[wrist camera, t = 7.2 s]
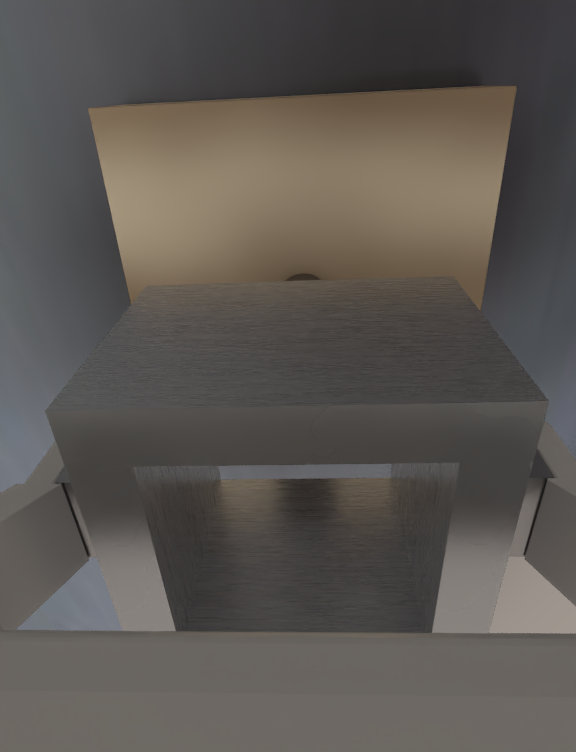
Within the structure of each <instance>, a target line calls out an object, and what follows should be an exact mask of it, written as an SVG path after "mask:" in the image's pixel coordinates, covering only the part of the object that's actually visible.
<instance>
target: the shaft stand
mask: <svg viewBox="0 0 576 752" xmlns="http://www.w3.org/2000/svg"><path fill="white" fill-rule="evenodd" d="M516 88H517V86H471V87H452V88H433V89H414V90H395V91H376V92H357V93H338V94H319V95H300V96H281V97H262V98H243V99H224V100H205V101H186V102H166V103H147V104H128V105H116V106H106V107H96V108H88V110H89V114H90V119H91V123H92V128H93V133H94V137H95V142H96V146H97V151H98V155H99V160H100V165H101V169H102V174H103V178H104V183H105V187H106V192H107V196H108V201H109V206H110V210H111V215H112V219H113V224H114V228H115V233H116V238H117V242H118V247H119V251H120V256H121V260H122V265H123V269H124V274H125V279H126V283H127V288H128V292H129V297H130V301H131V304H132V303H133V302H134V300H135V299H136V298H137V297H138V296H139V294H140V293H141V292H142V291H143V289H144V288H145V287H146V286H151V285H182V284H213V283H244V282H275V281H306V280H337V279H368V278H399V277H430V276H454V277H455V279H456V280H457V281H458V282H459V284H460V285H461V286H462V288H463V289H464V290H465V292H466V293H467V294H468V296H469V297H470V298H471V300H472V301H473V302H474V303H475V305H476V306H477V307H478V309H479V310H480V311H481V306H482V300H483V294H484V288H485V281H486V275H487V269H488V263H489V257H490V250H491V244H492V238H493V232H494V225H495V219H496V213H497V207H498V200H499V194H500V188H501V182H502V176H503V169H504V163H505V157H506V151H507V144H508V138H509V132H510V126H511V120H512V113H513V107H514V101H515V95H516Z"/></svg>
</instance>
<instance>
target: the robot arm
mask: <svg viewBox="0 0 576 752" xmlns="http://www.w3.org/2000/svg"><path fill="white" fill-rule="evenodd" d="M509 556H516V557H525V560H526V561H527V562H528V563H529V564H531V565H532V566H533V567H534V568H535V569H536V570H537V571H538V572H539V573H540V574H541V575H543V576H544V577H545V578H546V579H547V580H548V581H549V582H550V583H551V584H552V585H553V586H554V587H555V588H557V589H558V590H559V591H560V592H561V593H562V594H563V595H564V596H565V597H566V598H567V599H568V600H570V601H571V602H572V603H573V604H574V605H575V606H576V459H575V458H574V457H573V455H572V454H571V453H570V451H569V450H568V448H567V447H566V446H565V444H564V443H563V442H562V440H561V439H560V437H559V436H558V435H557V433H556V432H555V431H554V429H553V428H552V426H551V425H550V424H549V423H547V422H545V421H544V423H543V427H542V431H541V435H540V438H539V442H538V446H537V450H536V454H535V458H534V461H533V465H532V469H531V473H530V477H529V480H528V484H527V488H526V492H525V496H524V500H523V503H522V507H521V511H520V515H519V519H518V523H517V526H516V530H515V534H514V538H513V542H512V546H511V549H510V553H509ZM93 557H97V556H96V553H95V551H94V548H93V545H92V542H91V539H90V536H89V534H88V531H87V528H86V525H85V522H84V520H83V517H82V514H81V511H80V508H79V505H78V503H77V500H76V497H75V494H74V491H73V488H72V486H71V483H70V480H69V477H68V474H67V471H66V469H65V466H64V463H63V460H62V457H61V454H60V452H59V449H58V446H57V443H56V441H55V442H54V443H53V445H52V446H51V448H50V449H49V450H48V452H47V453H46V455H45V456H44V457H43V459H42V460H41V461H40V463H39V464H38V466H37V467H36V468H35V470H34V471H33V473H32V474H31V475H30V477H29V478H28V479H27V481H26V482H25V484H16V485H14V486H12V487H10V488H9V489H7V490H5V491H3V492H2V493H0V752H576V634H542V633H394V632H230V631H64V630H16V629H17V628H18V627H19V626H20V625H21V624H22V623H23V622H24V621H25V620H26V619H27V618H28V617H30V616H31V615H32V614H33V613H34V612H35V611H36V610H37V609H38V608H39V607H40V606H41V605H42V604H43V603H44V602H45V601H46V600H47V599H49V598H50V597H51V596H52V595H53V594H54V593H55V592H56V591H57V590H58V589H59V588H60V587H61V586H62V585H63V584H64V583H65V582H66V581H67V580H69V579H70V578H71V577H72V576H73V575H74V574H75V573H76V572H77V571H78V570H79V569H80V568H81V567H82V566H83V565H84V564H85V563H86V562H88V561H89V558H93Z"/></svg>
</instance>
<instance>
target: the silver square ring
mask: <svg viewBox="0 0 576 752" xmlns="http://www.w3.org/2000/svg"><path fill="white" fill-rule="evenodd" d="M548 404H549V401H548V399H547V398H546V397H545V395H544V394H543V393H542V391H541V390H540V389H539V387H538V386H537V385H536V383H535V382H534V381H533V380H532V378H531V377H530V376H529V374H528V373H527V372H526V370H525V369H524V368H523V366H522V365H521V364H520V362H519V361H518V360H517V359H516V357H515V356H514V355H513V353H512V352H511V351H510V349H509V348H508V347H507V345H506V344H505V343H504V341H503V340H502V339H501V338H500V336H499V335H498V334H497V332H496V331H495V330H494V328H493V327H492V326H491V324H490V323H489V322H488V321H487V319H486V318H485V317H484V315H483V314H482V313H481V311H480V310H479V309H478V307H477V306H476V305H475V303H474V302H473V301H472V300H471V298H470V297H469V296H468V294H467V293H466V292H465V290H464V289H463V288H462V286H461V285H460V284H459V282H458V281H457V280H456V279H455V277H454V276H430V277H399V278H368V279H337V280H306V281H275V282H244V283H213V284H182V285H151V286H146V287H145V288H144V289H143V291H142V292H141V293H140V294H139V296H138V297H137V298H136V299H135V300H134V302H133V303H132V304H131V305H130V307H129V308H128V309H127V310H126V312H125V313H124V314H123V315H122V316H121V318H120V319H119V320H118V321H117V323H116V324H115V325H114V326H113V328H112V329H111V330H110V331H109V333H108V334H107V335H106V336H105V337H104V339H103V340H102V341H101V342H100V344H99V345H98V346H97V347H96V349H95V350H94V351H93V352H92V354H91V355H90V356H89V357H88V358H87V360H86V361H85V362H84V363H83V365H82V366H81V367H80V368H79V370H78V371H77V372H76V373H75V374H74V376H73V377H72V378H71V379H70V381H69V382H68V383H67V384H66V386H65V387H64V388H63V389H62V391H61V392H60V393H59V394H58V395H57V397H56V398H55V399H54V400H53V402H52V403H51V404H50V405H49V407H48V408H47V409H46V410H45V412H46V415H47V418H48V420H49V423H50V426H51V429H52V432H53V435H54V437H55V440H56V443H57V446H58V449H59V452H60V454H61V457H62V460H63V463H64V466H65V469H66V471H67V474H68V477H69V480H70V483H71V486H72V488H73V491H74V494H75V497H76V500H77V503H78V505H79V508H80V511H81V514H82V517H83V520H84V522H85V525H86V528H87V531H88V534H89V536H90V539H91V542H92V545H93V548H94V551H95V553H96V556H97V559H98V562H99V565H100V568H101V570H102V573H103V576H104V579H105V582H106V585H107V587H108V590H109V593H110V596H111V599H112V602H113V604H114V607H115V610H116V613H117V616H118V619H119V621H120V624H121V627H122V630H123V631H230V632H394V633H489V630H490V626H491V622H492V618H493V615H494V610H495V607H496V603H497V599H498V595H499V592H500V588H501V584H502V580H503V576H504V572H505V569H506V565H507V561H508V557H509V553H510V549H511V546H512V542H513V538H514V534H515V530H516V526H517V523H518V519H519V515H520V511H521V507H522V503H523V500H524V496H525V492H526V488H527V484H528V480H529V477H530V473H531V469H532V465H533V461H534V458H535V454H536V450H537V446H538V442H539V438H540V435H541V431H542V427H543V423H544V419H545V415H546V412H547V408H548ZM391 463H392V468H391V478H333V479H240V480H221V478H220V472H219V466H227V465H309V464H391Z"/></svg>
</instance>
